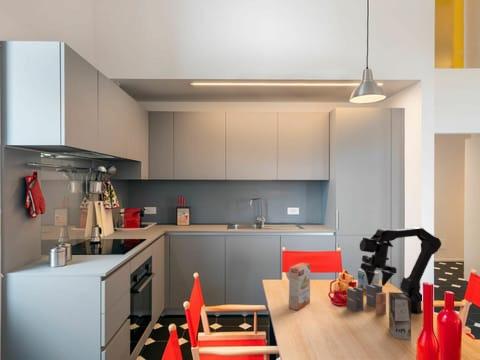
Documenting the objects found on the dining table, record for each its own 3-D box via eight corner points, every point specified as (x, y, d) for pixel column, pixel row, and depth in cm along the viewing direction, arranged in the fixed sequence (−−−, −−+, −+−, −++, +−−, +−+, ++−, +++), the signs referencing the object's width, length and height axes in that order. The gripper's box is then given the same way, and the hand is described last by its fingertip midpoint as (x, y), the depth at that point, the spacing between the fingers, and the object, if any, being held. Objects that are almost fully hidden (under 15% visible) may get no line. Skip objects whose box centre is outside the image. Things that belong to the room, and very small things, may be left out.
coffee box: (411, 340, 124) (411, 300, 124) (394, 338, 125) (394, 298, 126) (404, 329, 133) (404, 292, 133) (388, 328, 134) (388, 291, 135)
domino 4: (382, 305, 161) (382, 286, 161) (380, 305, 160) (380, 286, 160) (374, 301, 165) (374, 283, 165) (372, 302, 165) (372, 283, 165)
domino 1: (356, 310, 153) (356, 290, 153) (354, 311, 152) (354, 291, 153) (349, 307, 158) (349, 287, 158) (346, 307, 157) (346, 288, 157)
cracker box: (299, 311, 153) (299, 269, 153) (288, 308, 156) (288, 267, 157) (310, 302, 164) (310, 263, 164) (300, 300, 167) (300, 261, 168)
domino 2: (363, 309, 155) (363, 289, 155) (361, 310, 154) (360, 290, 155) (356, 305, 160) (355, 286, 160) (353, 306, 159) (353, 287, 159)
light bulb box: (357, 286, 190) (357, 269, 191) (365, 285, 193) (365, 268, 194) (371, 292, 181) (371, 273, 181) (379, 290, 184) (379, 272, 184)
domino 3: (376, 306, 159) (376, 287, 159) (374, 307, 158) (373, 287, 158) (368, 303, 163) (368, 284, 164) (366, 303, 163) (366, 284, 163)
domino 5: (383, 312, 152) (383, 292, 152) (386, 313, 150) (386, 293, 150) (375, 314, 149) (375, 293, 150) (378, 315, 148) (378, 294, 148)
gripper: (381, 251, 164) (377, 280, 164) (354, 248, 157) (350, 279, 156) (399, 257, 154) (394, 288, 153) (371, 254, 147) (366, 286, 146)
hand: (376, 285), depth 153 cm, fingers open, 9 cm apart
